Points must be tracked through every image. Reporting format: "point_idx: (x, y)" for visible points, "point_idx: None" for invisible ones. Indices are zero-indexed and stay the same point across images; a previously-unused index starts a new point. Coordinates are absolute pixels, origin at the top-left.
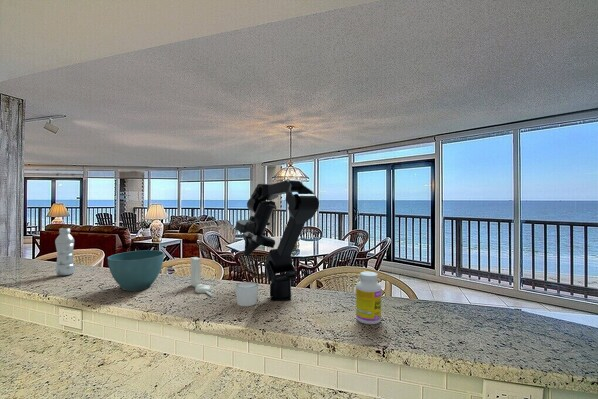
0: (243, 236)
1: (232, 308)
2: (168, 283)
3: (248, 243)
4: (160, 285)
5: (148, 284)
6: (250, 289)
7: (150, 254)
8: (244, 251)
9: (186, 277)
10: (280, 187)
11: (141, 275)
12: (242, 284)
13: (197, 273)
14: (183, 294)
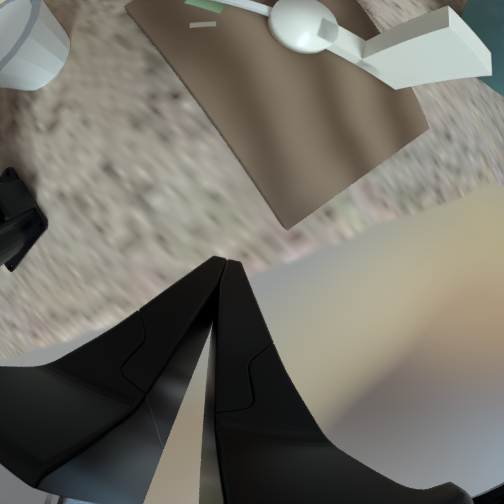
0: (391, 497)
1: (79, 20)
2: (466, 105)
3: (210, 411)
4: (464, 82)
5: None
6: None
7: None
8: (249, 287)
9: (472, 180)
10: None
11: (473, 3)
12: (17, 21)
13: (394, 34)
14: None
